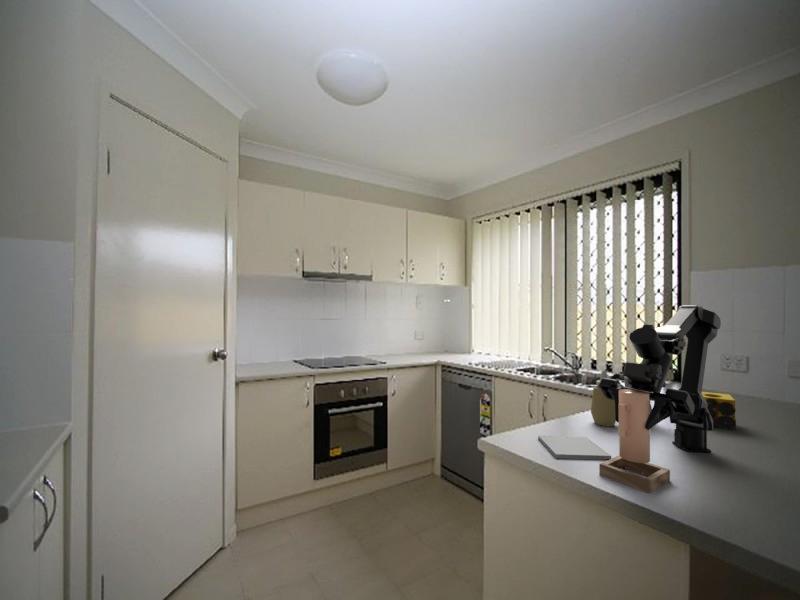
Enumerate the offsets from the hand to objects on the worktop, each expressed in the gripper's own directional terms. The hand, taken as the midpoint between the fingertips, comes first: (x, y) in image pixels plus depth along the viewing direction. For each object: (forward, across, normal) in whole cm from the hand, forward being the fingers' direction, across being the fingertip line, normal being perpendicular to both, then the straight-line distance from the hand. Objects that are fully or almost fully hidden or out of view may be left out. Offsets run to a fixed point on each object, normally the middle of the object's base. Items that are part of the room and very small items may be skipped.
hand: (631, 424), depth 85 cm
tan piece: (+6, 0, +6) cm, 8 cm away
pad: (+5, -18, +13) cm, 22 cm away
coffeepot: (-25, -21, +44) cm, 55 cm away
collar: (+8, 0, +10) cm, 12 cm away
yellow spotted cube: (-38, -4, +57) cm, 69 cm away
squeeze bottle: (-16, -24, +34) cm, 45 cm away
